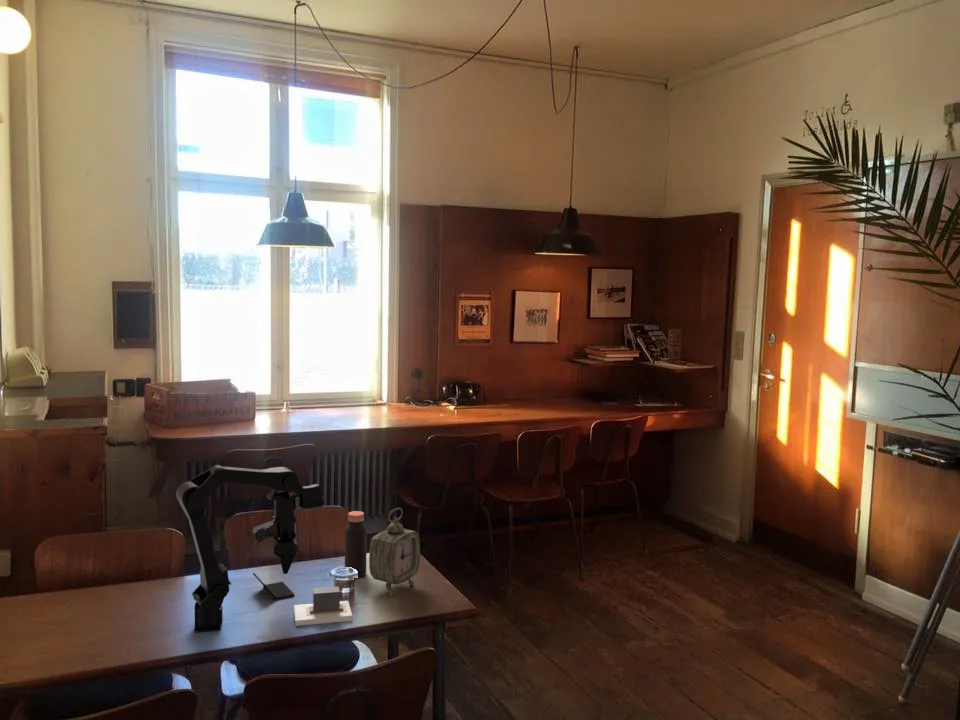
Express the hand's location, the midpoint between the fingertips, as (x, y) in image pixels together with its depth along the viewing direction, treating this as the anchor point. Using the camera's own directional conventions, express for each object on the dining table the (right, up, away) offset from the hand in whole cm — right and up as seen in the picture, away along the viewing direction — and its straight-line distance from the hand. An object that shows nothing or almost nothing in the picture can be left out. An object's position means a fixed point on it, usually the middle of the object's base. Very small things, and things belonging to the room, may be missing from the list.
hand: (284, 567), depth 216 cm
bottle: (+15, -10, +27) cm, 33 cm away
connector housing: (+12, -10, -2) cm, 16 cm away
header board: (+11, -13, -2) cm, 17 cm away
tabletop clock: (+28, -11, +17) cm, 35 cm away
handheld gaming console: (-6, -11, +12) cm, 18 cm away
